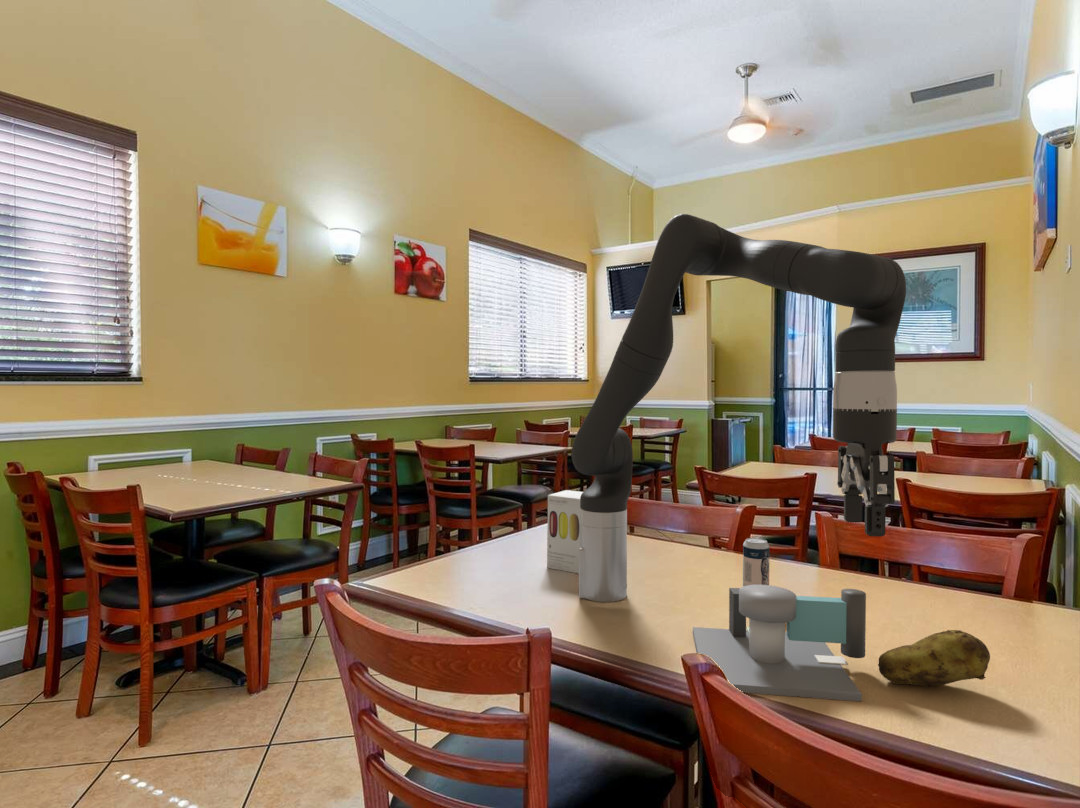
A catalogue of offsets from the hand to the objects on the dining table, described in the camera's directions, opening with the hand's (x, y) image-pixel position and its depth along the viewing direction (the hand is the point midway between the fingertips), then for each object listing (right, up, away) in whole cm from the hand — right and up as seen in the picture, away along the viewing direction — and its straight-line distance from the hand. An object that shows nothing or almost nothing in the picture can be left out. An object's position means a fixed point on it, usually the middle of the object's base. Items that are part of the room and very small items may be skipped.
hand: (863, 528), depth 83 cm
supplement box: (-35, -21, +61) cm, 73 cm away
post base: (-9, -22, +10) cm, 26 cm away
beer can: (-2, -22, +36) cm, 42 cm away
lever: (-5, -20, +9) cm, 22 cm away
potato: (+11, -22, +3) cm, 25 cm away
